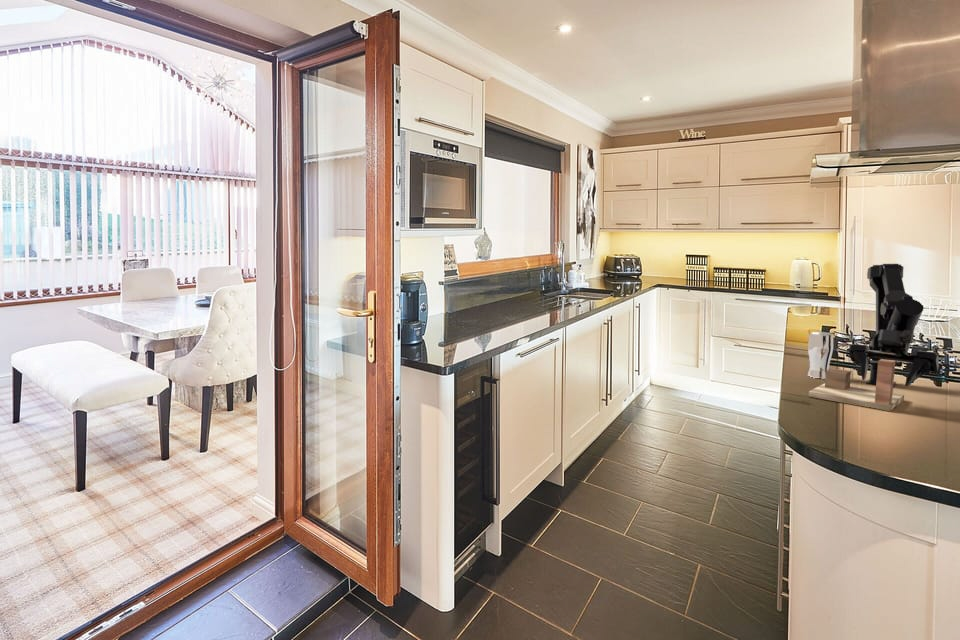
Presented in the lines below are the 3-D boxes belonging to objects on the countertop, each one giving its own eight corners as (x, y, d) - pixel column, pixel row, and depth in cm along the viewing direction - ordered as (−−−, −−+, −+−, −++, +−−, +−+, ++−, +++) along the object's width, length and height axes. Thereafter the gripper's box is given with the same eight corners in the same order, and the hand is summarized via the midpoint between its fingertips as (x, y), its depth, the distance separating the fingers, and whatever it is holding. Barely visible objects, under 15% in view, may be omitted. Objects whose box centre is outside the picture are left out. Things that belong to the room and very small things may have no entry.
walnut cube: (830, 384, 154) (831, 368, 153) (849, 387, 150) (851, 370, 150) (824, 387, 151) (825, 370, 150) (844, 390, 147) (845, 373, 146)
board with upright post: (825, 386, 156) (828, 346, 155) (903, 399, 142) (908, 354, 140) (808, 396, 147) (811, 353, 145) (890, 411, 132) (894, 363, 131)
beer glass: (835, 379, 165) (838, 335, 163) (811, 379, 166) (814, 334, 164) (825, 374, 172) (828, 331, 170) (802, 374, 173) (805, 331, 171)
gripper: (852, 315, 142) (837, 359, 136) (941, 321, 127) (927, 370, 122) (859, 339, 148) (844, 382, 142) (944, 347, 133) (931, 395, 128)
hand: (884, 382), depth 133 cm, fingers open, 9 cm apart
